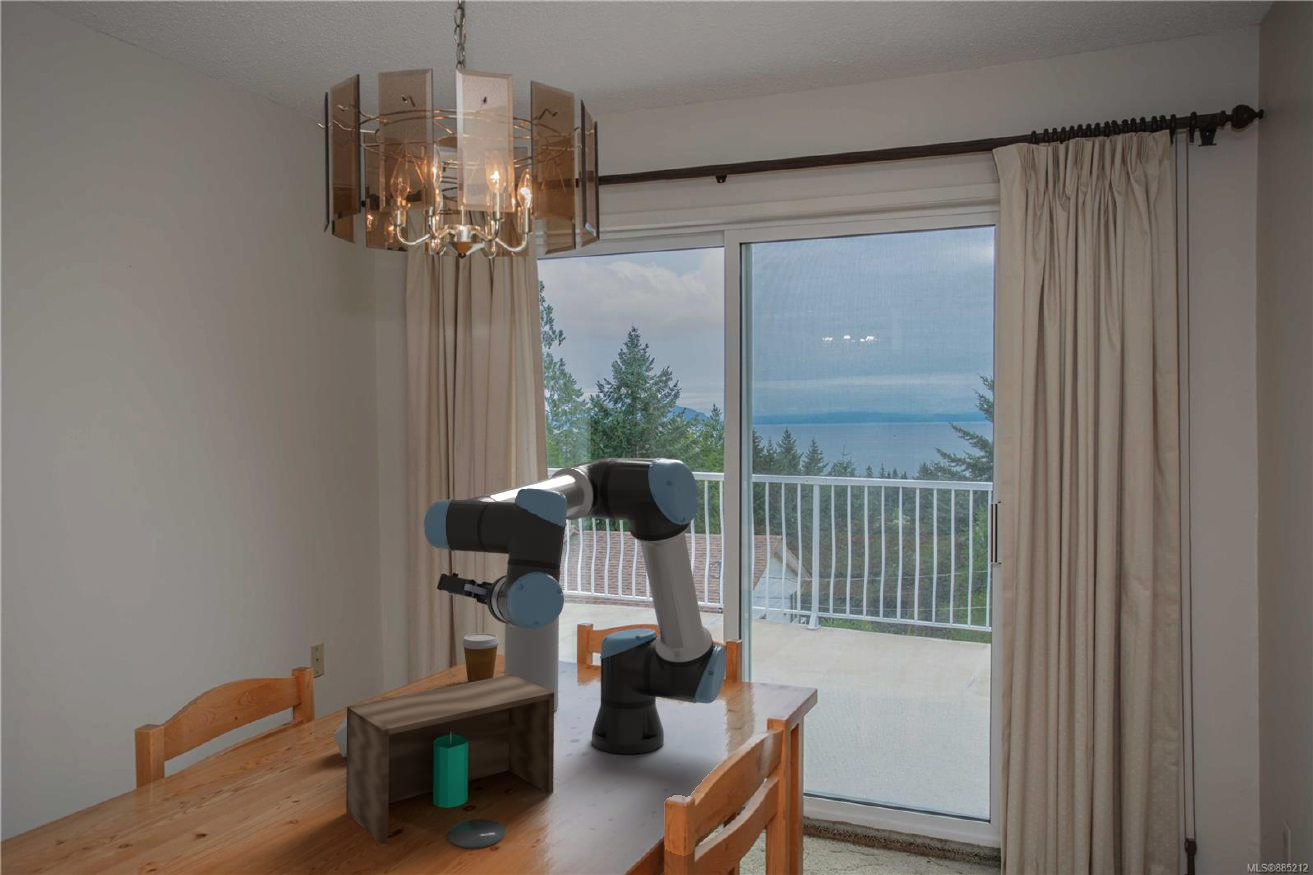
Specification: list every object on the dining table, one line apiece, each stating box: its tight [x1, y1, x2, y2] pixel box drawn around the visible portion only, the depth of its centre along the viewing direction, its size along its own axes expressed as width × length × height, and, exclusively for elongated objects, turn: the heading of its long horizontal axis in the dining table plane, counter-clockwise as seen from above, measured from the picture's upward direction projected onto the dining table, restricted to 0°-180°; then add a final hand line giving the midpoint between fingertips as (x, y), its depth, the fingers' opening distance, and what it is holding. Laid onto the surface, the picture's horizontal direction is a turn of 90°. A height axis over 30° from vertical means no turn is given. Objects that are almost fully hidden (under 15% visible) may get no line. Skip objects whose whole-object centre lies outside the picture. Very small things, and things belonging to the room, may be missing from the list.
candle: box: [432, 732, 469, 808], centre depth 153 cm, size 6×6×12 cm
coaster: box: [447, 818, 506, 850], centre depth 140 cm, size 9×9×1 cm
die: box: [333, 715, 347, 758], centre depth 175 cm, size 8×9×10 cm
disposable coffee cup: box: [461, 632, 500, 683], centre depth 226 cm, size 10×10×12 cm
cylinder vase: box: [504, 615, 560, 712], centre depth 204 cm, size 12×12×25 cm
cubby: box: [345, 675, 555, 845], centre depth 152 cm, size 15×32×18 cm, turn 130°
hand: (489, 597), depth 151 cm, fingers open, 13 cm apart
